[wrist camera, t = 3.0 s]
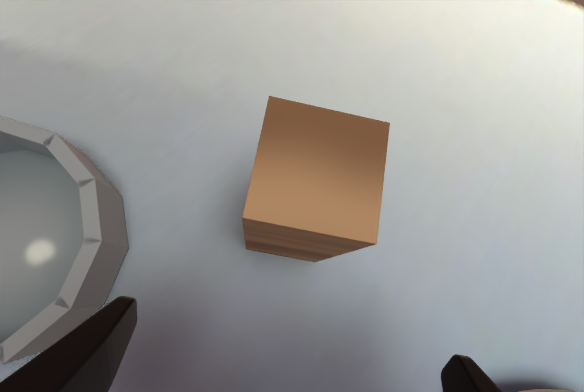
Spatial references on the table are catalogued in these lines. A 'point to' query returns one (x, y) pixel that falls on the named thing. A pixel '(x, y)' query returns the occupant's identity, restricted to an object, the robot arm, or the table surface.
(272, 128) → the walnut block
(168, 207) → the table surface
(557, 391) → the robot toy
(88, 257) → the shallow grey bowl
